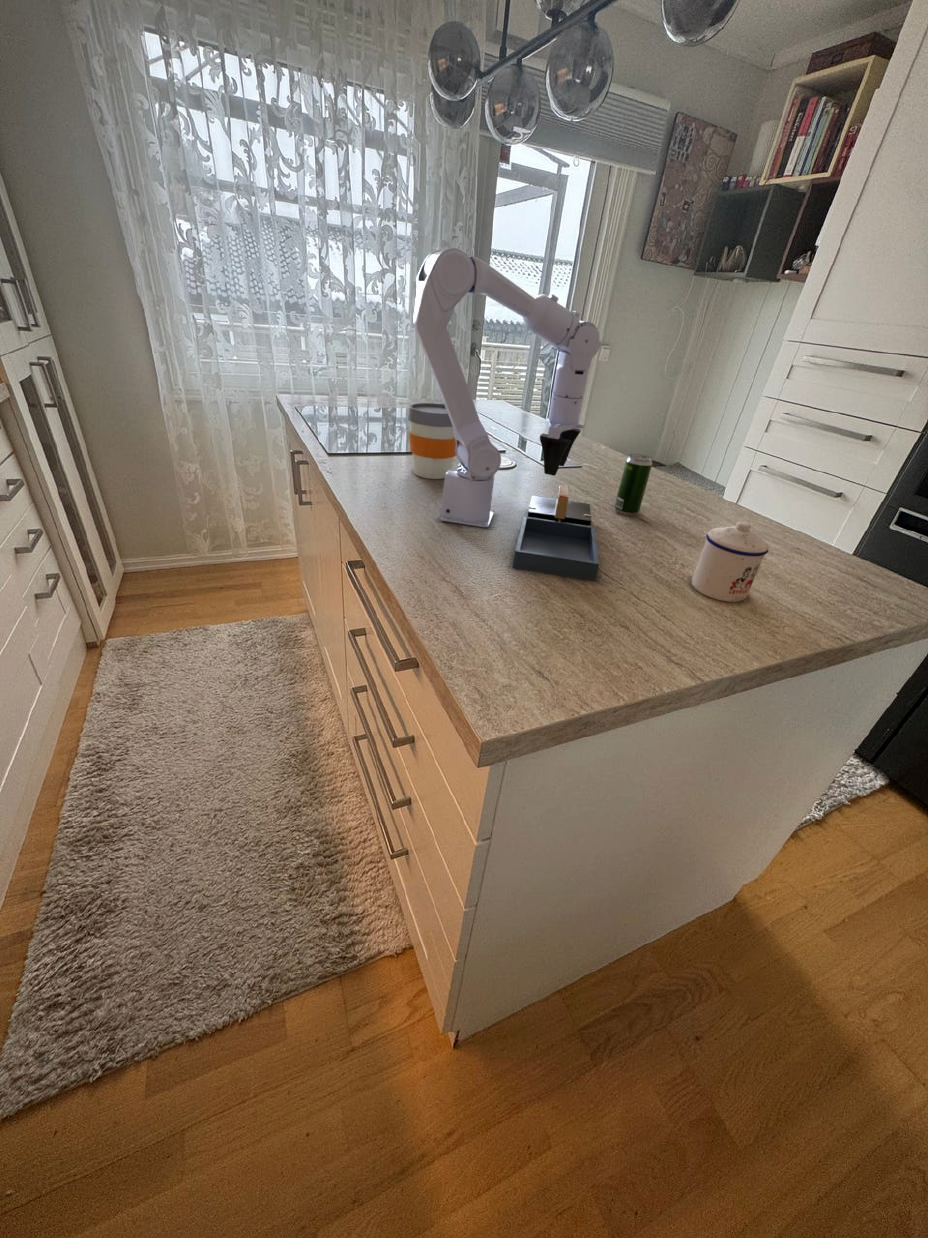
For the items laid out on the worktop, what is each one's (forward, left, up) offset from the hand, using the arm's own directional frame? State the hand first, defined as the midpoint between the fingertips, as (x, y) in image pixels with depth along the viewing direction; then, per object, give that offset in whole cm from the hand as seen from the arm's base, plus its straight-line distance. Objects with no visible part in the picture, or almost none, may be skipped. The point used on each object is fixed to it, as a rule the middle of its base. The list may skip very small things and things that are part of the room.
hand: (554, 469), depth 102 cm
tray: (+2, -18, -10) cm, 21 cm away
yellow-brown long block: (+2, -5, -6) cm, 9 cm away
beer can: (+17, +11, -10) cm, 23 cm away
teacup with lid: (+30, -21, -10) cm, 38 cm away
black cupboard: (+2, -5, -10) cm, 11 cm away
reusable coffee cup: (-29, +19, -10) cm, 36 cm away
